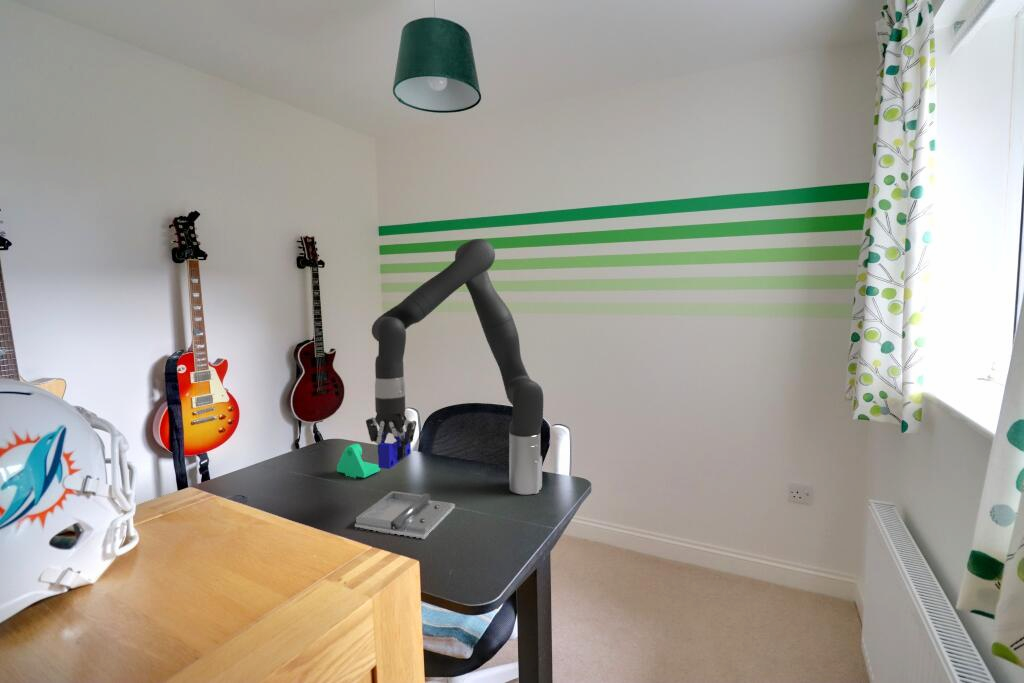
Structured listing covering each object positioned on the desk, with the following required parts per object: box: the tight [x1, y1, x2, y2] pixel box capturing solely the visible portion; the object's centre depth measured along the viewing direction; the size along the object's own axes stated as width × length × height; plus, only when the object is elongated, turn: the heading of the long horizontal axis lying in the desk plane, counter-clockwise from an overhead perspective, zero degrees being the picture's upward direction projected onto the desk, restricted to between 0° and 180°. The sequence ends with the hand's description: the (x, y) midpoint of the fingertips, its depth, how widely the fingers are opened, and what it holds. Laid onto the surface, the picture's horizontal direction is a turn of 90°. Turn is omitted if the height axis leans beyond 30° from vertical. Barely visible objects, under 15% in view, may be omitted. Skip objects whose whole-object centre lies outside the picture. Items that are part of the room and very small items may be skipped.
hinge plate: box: [354, 490, 456, 540], centre depth 124 cm, size 19×18×3 cm
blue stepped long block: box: [377, 431, 412, 470], centre depth 124 cm, size 12×4×6 cm, turn 167°
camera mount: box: [336, 443, 381, 479], centre depth 154 cm, size 12×8×10 cm, turn 62°
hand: (391, 458), depth 124 cm, fingers closed on blue stepped long block, 4 cm apart
